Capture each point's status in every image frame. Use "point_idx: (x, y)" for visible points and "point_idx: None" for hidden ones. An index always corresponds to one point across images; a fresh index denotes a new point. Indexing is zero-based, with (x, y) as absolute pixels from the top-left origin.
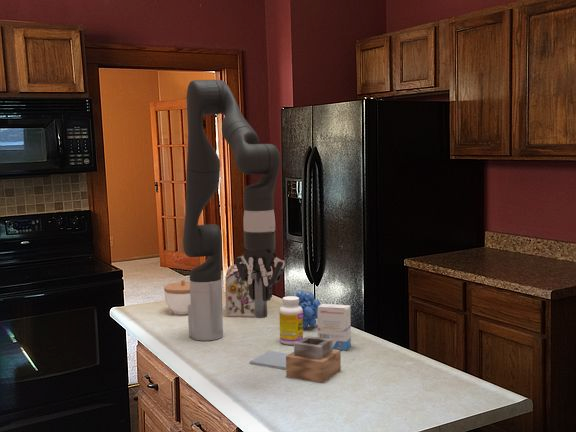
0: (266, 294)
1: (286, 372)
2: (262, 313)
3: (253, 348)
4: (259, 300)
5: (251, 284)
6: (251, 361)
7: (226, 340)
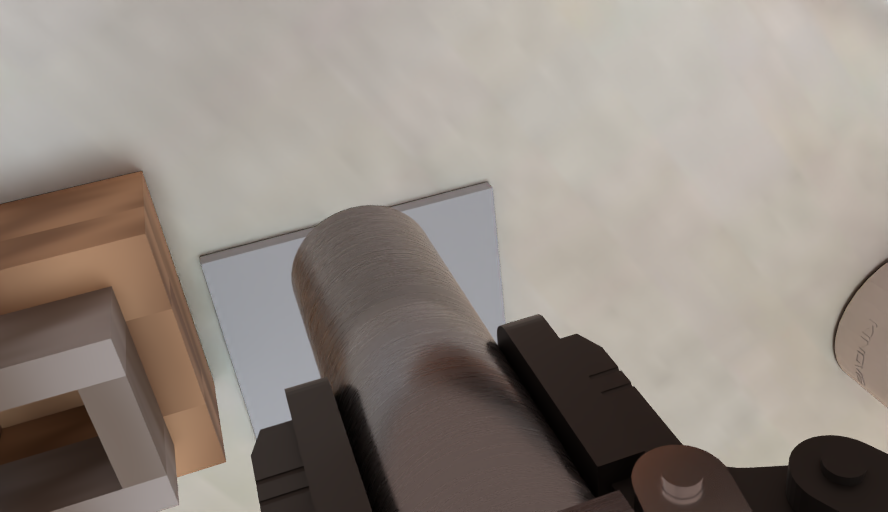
0: (302, 462)
1: (140, 181)
2: (313, 268)
3: (613, 352)
4: (378, 337)
5: (639, 471)
6: (482, 193)
7: (794, 338)
